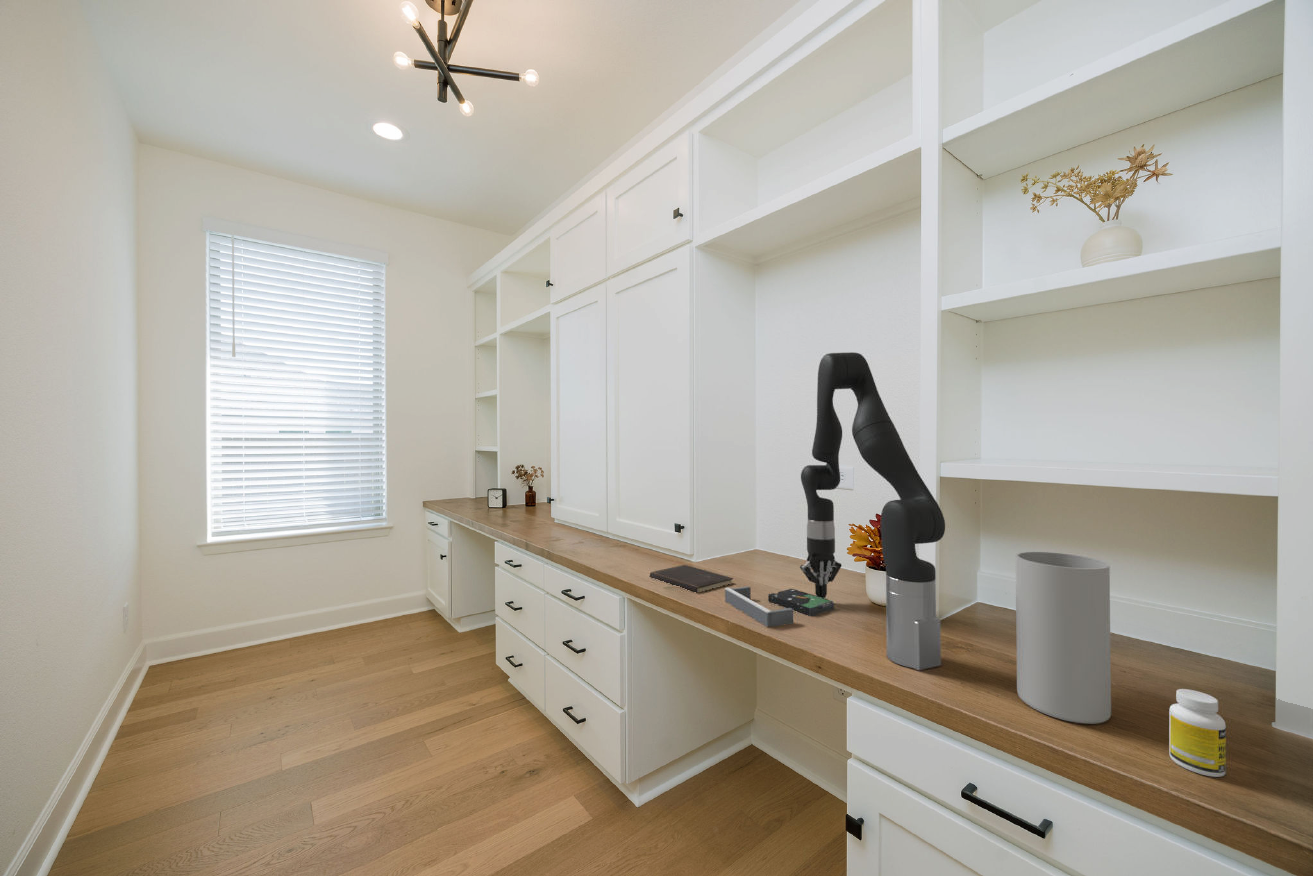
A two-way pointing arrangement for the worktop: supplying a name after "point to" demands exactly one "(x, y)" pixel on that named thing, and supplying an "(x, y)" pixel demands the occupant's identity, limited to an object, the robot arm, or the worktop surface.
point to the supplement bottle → (1197, 733)
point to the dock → (757, 608)
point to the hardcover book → (691, 578)
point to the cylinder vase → (1064, 635)
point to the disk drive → (801, 602)
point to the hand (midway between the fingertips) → (821, 597)
